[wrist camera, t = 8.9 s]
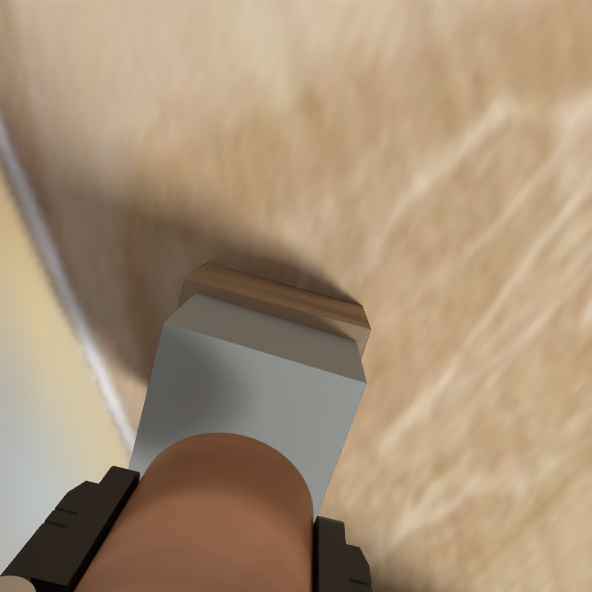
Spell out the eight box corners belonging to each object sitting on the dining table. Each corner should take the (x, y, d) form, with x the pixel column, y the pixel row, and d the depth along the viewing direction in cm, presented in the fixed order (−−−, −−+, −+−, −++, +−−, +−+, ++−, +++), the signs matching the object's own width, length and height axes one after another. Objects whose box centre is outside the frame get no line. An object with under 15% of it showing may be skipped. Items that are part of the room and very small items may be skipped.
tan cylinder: (152, 413, 12) (38, 571, 7) (333, 457, 12) (344, 644, 7) (125, 561, 13) (12, 783, 8) (289, 600, 13) (274, 843, 8)
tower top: (196, 292, 18) (163, 322, 15) (356, 341, 19) (366, 383, 15) (160, 435, 20) (122, 495, 16) (307, 478, 20) (304, 548, 16)
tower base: (207, 261, 22) (184, 278, 18) (361, 303, 22) (371, 329, 18) (176, 401, 24) (150, 443, 20) (318, 439, 24) (318, 487, 20)
